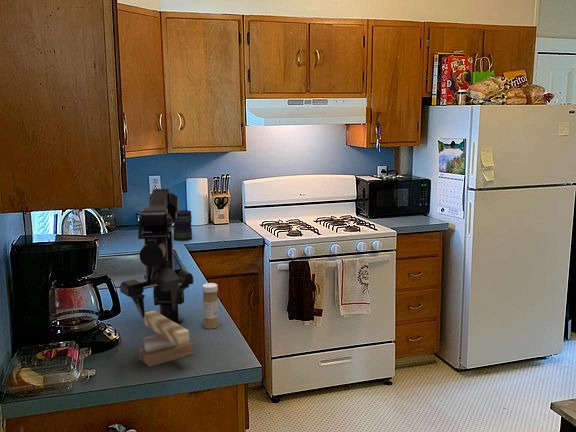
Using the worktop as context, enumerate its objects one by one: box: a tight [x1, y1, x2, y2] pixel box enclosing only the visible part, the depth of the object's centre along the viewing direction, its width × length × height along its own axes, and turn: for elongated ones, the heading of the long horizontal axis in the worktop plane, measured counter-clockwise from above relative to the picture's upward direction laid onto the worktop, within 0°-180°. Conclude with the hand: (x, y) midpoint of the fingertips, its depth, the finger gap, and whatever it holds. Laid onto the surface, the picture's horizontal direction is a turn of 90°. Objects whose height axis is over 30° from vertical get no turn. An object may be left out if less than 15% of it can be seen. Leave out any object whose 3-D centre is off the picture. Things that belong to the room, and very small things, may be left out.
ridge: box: [138, 327, 195, 368], centre depth 152 cm, size 6×13×6 cm, turn 129°
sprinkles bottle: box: [201, 282, 219, 330], centre depth 174 cm, size 5×5×14 cm
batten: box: [144, 310, 190, 346], centre depth 151 cm, size 20×3×4 cm, turn 39°
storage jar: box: [172, 209, 193, 242], centre depth 302 cm, size 10×10×15 cm
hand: (159, 313), depth 151 cm, fingers open, 9 cm apart
